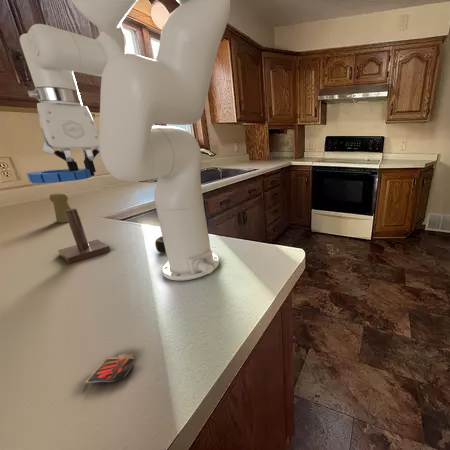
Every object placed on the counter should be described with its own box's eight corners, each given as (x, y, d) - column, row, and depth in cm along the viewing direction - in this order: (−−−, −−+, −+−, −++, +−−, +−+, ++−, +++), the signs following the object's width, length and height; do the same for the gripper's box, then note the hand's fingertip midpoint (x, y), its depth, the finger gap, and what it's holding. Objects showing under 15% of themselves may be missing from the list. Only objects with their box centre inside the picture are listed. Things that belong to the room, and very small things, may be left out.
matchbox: (128, 379, 31) (127, 376, 31) (80, 391, 30) (79, 388, 30) (139, 351, 36) (138, 348, 35) (97, 360, 34) (96, 358, 34)
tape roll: (97, 178, 63) (95, 170, 62) (36, 184, 54) (32, 175, 53) (83, 174, 69) (80, 167, 68) (25, 180, 60) (22, 172, 59)
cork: (53, 221, 96) (43, 194, 92) (71, 217, 101) (62, 191, 98) (62, 223, 94) (51, 195, 90) (80, 218, 99) (71, 191, 95)
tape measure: (182, 253, 67) (180, 240, 65) (154, 257, 65) (151, 244, 63) (185, 243, 73) (183, 232, 71) (159, 247, 71) (157, 235, 69)
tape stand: (110, 250, 69) (97, 208, 65) (69, 263, 62) (51, 216, 58) (99, 243, 74) (86, 203, 70) (59, 254, 67) (42, 211, 63)
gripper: (13, 92, 50) (46, 182, 56) (106, 101, 63) (124, 173, 69) (8, 96, 54) (39, 179, 61) (95, 103, 67) (114, 171, 73)
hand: (84, 175), depth 65 cm, fingers closed on tape roll, 2 cm apart
